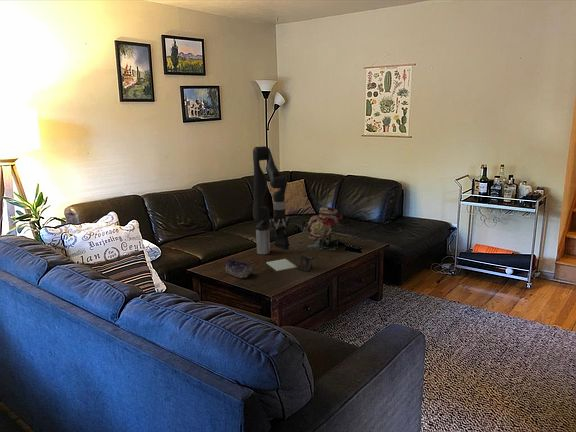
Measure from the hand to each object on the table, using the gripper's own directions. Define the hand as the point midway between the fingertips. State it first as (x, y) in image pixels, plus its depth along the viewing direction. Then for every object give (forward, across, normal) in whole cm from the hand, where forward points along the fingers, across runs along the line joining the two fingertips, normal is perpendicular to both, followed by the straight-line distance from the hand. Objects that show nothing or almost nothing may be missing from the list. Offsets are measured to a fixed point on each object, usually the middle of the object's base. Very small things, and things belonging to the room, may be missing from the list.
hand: (280, 233), depth 298 cm
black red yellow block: (+10, 0, 0) cm, 10 cm away
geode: (+22, +31, +2) cm, 38 cm away
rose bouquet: (+22, -44, -22) cm, 54 cm away
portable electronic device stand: (+21, -11, +14) cm, 28 cm away
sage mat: (+21, 0, 0) cm, 21 cm away
